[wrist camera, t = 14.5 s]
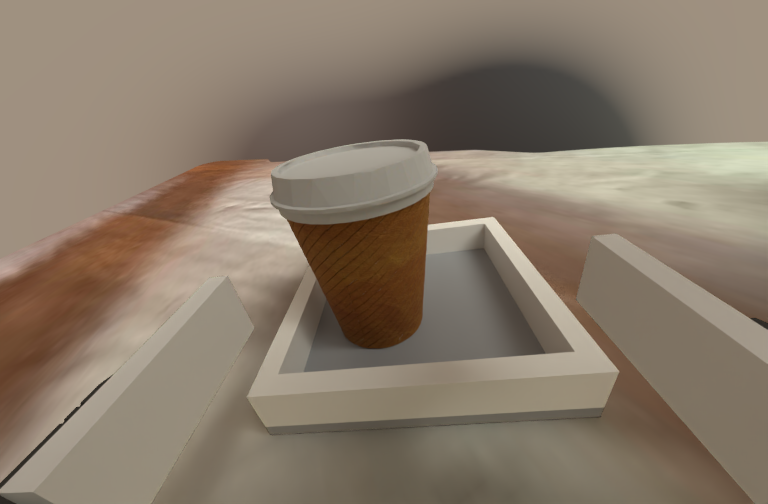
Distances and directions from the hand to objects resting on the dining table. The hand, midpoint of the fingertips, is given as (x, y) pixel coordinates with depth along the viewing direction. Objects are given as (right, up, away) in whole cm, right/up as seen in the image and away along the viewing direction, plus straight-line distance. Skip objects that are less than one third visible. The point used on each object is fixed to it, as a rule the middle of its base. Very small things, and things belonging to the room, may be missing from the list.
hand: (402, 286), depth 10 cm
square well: (+2, -4, +12) cm, 12 cm away
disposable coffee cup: (-1, -4, +11) cm, 12 cm away
